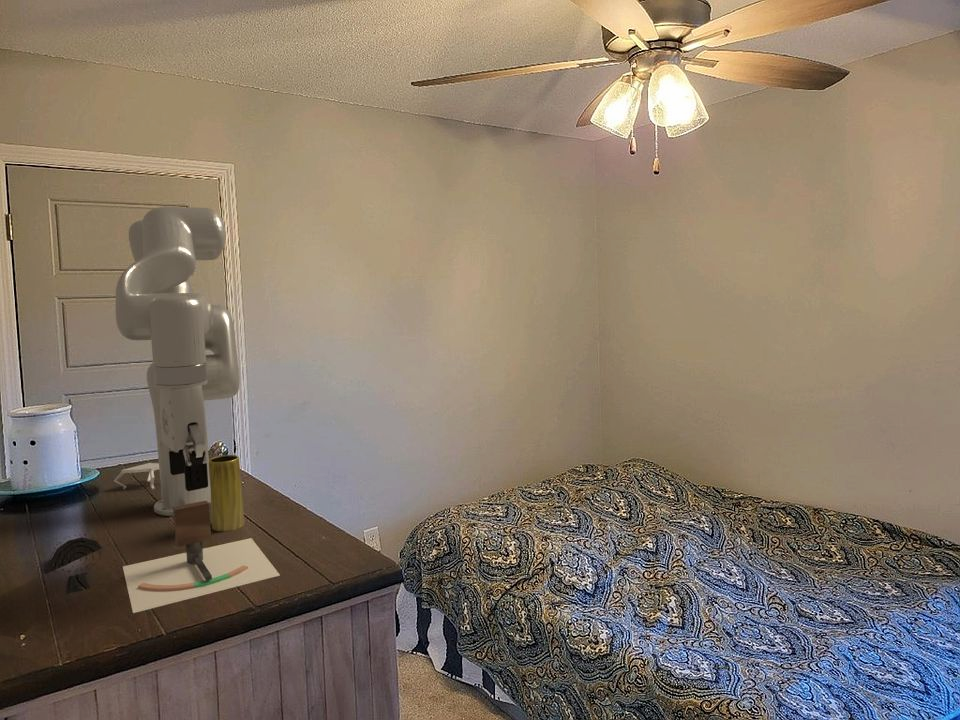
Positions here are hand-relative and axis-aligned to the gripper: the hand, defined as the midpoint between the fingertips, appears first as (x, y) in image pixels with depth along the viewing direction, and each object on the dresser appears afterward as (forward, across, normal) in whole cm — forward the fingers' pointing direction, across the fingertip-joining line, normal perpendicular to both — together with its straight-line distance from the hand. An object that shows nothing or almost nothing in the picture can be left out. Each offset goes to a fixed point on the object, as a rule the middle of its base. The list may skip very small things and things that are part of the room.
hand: (189, 480), depth 104 cm
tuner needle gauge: (+13, +5, 0) cm, 14 cm away
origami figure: (+17, -55, +3) cm, 58 cm away
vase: (+16, -12, +9) cm, 22 cm away
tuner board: (+15, +5, -1) cm, 16 cm away
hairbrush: (+16, -8, -16) cm, 23 cm away
